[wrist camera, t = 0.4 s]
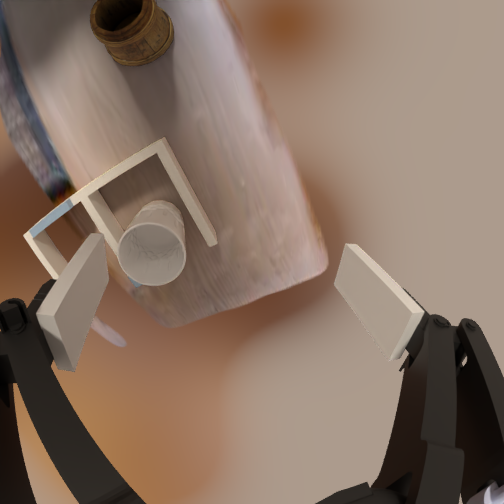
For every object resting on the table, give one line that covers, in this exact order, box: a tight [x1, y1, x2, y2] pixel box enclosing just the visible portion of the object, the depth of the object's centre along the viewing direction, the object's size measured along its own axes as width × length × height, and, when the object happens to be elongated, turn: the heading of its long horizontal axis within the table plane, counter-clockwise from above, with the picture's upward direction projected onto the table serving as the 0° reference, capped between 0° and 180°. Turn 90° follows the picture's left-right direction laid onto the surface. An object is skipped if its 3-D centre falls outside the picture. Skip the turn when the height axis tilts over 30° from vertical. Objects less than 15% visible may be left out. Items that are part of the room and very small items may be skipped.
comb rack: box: [24, 137, 218, 288], centre depth 36 cm, size 15×25×5 cm, turn 114°
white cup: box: [117, 200, 186, 286], centre depth 35 cm, size 8×8×10 cm
